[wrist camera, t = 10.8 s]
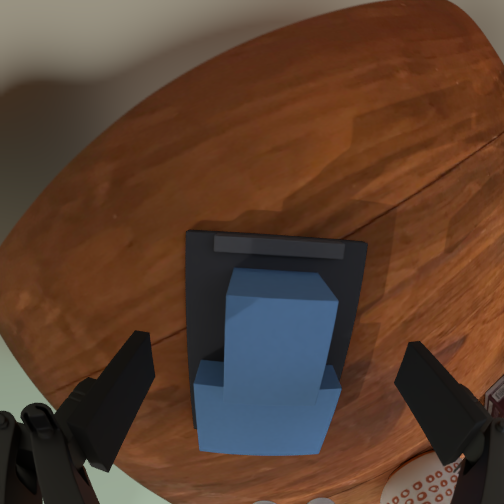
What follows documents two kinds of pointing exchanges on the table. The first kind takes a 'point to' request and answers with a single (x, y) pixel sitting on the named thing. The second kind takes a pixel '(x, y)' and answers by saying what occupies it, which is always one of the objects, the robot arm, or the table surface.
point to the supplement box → (495, 399)
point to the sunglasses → (315, 503)
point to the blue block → (276, 337)
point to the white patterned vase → (421, 481)
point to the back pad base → (213, 338)
